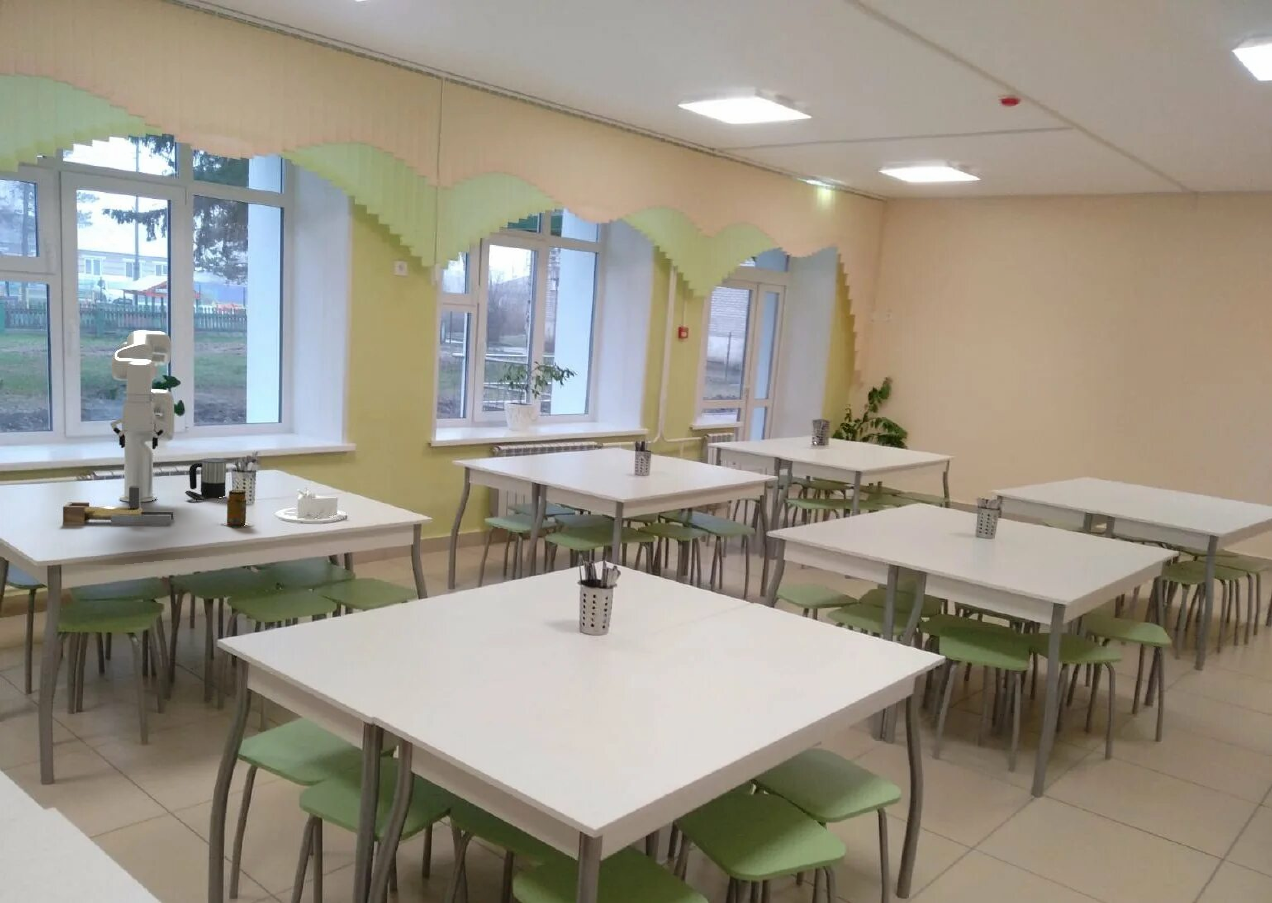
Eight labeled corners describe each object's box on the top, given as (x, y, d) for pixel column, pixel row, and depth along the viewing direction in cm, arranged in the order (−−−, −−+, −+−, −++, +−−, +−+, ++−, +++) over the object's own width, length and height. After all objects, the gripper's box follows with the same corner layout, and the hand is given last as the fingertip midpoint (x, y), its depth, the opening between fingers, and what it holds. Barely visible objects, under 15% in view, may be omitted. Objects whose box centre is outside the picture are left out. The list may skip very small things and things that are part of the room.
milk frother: (227, 494, 382) (227, 458, 380) (224, 502, 367) (225, 464, 366) (188, 494, 377) (188, 457, 375) (184, 502, 363) (184, 463, 361)
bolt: (76, 518, 321) (76, 484, 320) (142, 518, 327) (142, 485, 326) (72, 521, 317) (72, 487, 315) (140, 521, 323) (140, 488, 322)
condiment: (239, 521, 337) (239, 488, 336) (254, 526, 333) (255, 492, 331) (220, 524, 331) (221, 490, 330) (235, 528, 327) (236, 494, 325)
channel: (115, 520, 326) (115, 510, 326) (173, 520, 332) (173, 511, 332) (110, 525, 319) (110, 515, 318) (170, 525, 325) (170, 515, 324)
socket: (69, 519, 322) (69, 502, 321) (89, 519, 324) (89, 502, 323) (63, 524, 314) (63, 506, 314) (83, 524, 316) (83, 507, 316)
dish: (272, 523, 339) (273, 492, 338) (278, 509, 363) (278, 480, 362) (345, 524, 346) (346, 494, 345) (345, 510, 370) (346, 482, 369)
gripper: (168, 398, 333) (168, 446, 336) (112, 395, 327) (112, 444, 330) (165, 401, 326) (164, 450, 329) (108, 398, 320) (108, 448, 323)
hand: (138, 447), depth 330 cm, fingers open, 9 cm apart
